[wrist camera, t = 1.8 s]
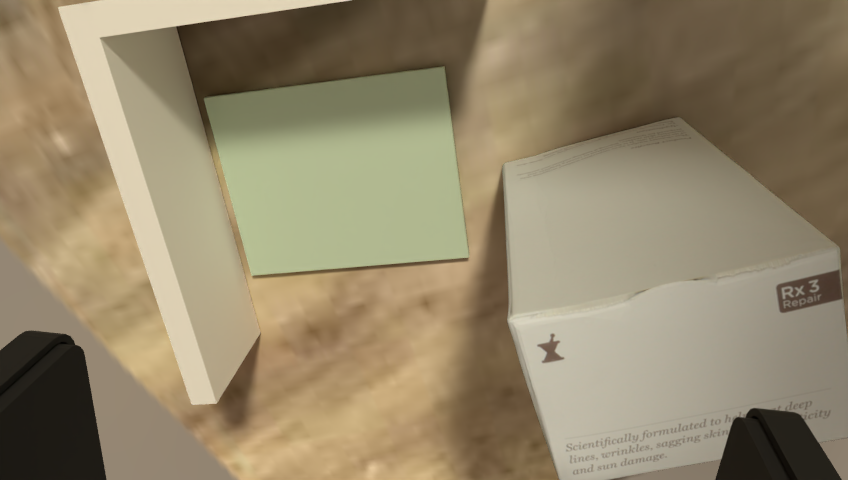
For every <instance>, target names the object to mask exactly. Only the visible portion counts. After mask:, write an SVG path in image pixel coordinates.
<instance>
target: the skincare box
mask: <svg viewBox="0 0 848 480" xmlns="http://www.w3.org/2000/svg"><path fill="white" fill-rule="evenodd" d="M502 174H503V189H504V207H505V230H506V252H507V272H508V296H509V307H508V317H507V323H508V326H509V329H510V332H511V335H512V338H513V341H514V344H515V347H516V351H517V355H518V358H519V362H520V365H521V368H522V371H523V374H524V377H525V380H526V383H527V386H528V390H529V393H530V396H531V399H532V402H533V405H534V408H535V411H536V414H537V417H538V420H539V422H540V425H541V428H542V431H543V434H544V437H545V440H546V443H547V446H548V449H549V452H550V455H551V458H552V461H553V464H554V467H555V470H556V472H557V475H558V478H559V480H610V479H615V478H621V477H626V476H632V475H637V474H643V473H648V472H654V471H659V470H665V469H670V468H676V467H682V466H688V465H694V464H699V463H705V462H710V461H717V460H721V459H722V455H723V452H724V449H725V445H726V442H727V438H728V435H729V431H730V428H731V425H732V422H733V420H734V419H735V418H737V417H744V418H745V417H746V414H747V413H748V411H749V410H750V409H752V408H761V409H770V410H779V411H789V412H795V413H798V414H800V415H801V417H802V418H803V419H804V420H805V422H806V424H807V425H808V427H809V428H810V430H811V432H812V433H813V435H814V436H815V438H816V440H817V441H818V443H821V442H827V441H833V440H839V439H844V438H848V338H847V329H846V320H845V309H844V297H843V285H842V272H841V258H840V248H839V247H838V245H836V244H835V243H834V242H833V241H831V240H830V239H829V238H828V237H826V236H825V235H824V234H823V233H821V232H820V231H819V230H818V229H816V228H815V227H814V226H813V225H811V224H810V223H809V222H808V221H807V220H805V219H804V218H803V217H802V216H800V215H799V214H798V213H797V212H795V211H794V210H793V209H792V208H790V207H789V206H788V205H787V204H785V203H784V202H783V201H782V200H780V199H779V198H778V197H777V196H775V195H774V194H773V193H772V192H770V191H769V190H768V189H767V188H766V187H764V186H763V185H762V184H761V183H760V182H759V181H757V180H756V179H755V178H754V177H753V176H751V175H750V174H749V173H748V172H747V171H745V170H744V169H743V168H742V167H740V166H739V165H738V164H737V163H735V162H734V161H733V160H732V159H730V158H729V157H728V156H727V155H725V154H724V153H723V152H722V151H721V150H719V149H718V148H717V147H716V146H715V145H713V144H712V143H711V142H710V141H708V140H707V139H706V138H705V137H703V136H702V135H701V134H700V133H699V132H697V131H696V130H695V129H694V128H692V127H691V126H690V125H689V124H687V123H686V122H685V121H684V120H683V119H682V118H681V117H676V118H672V119H667V120H663V121H659V122H655V123H651V124H648V125H644V126H640V127H637V128H633V129H629V130H625V131H621V132H617V133H613V134H609V135H605V136H601V137H598V138H594V139H590V140H587V141H583V142H579V143H575V144H572V145H568V146H564V147H560V148H557V149H554V150H551V151H548V152H544V153H541V154H538V155H535V156H532V157H528V158H524V159H519V160H515V161H510V162H506V163H504V164H503V168H502Z"/></svg>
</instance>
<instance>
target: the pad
mask: <svg viewBox="0 0 848 480" xmlns="http://www.w3.org/2000/svg"><path fill="white" fill-rule="evenodd" d="M204 102H205V106H206V109H207V113H208V117H209V120H210V124H211V128H212V132H213V135H214V139H215V143H216V146H217V150H218V154H219V157H220V161H221V165H222V168H223V172H224V176H225V179H226V183H227V187H228V191H229V194H230V198H231V202H232V205H233V209H234V213H235V216H236V220H237V224H238V227H239V231H240V235H241V238H242V242H243V246H244V249H245V253H246V257H247V261H248V264H249V268H250V272H251V275H252V276H253V275H265V274H277V273H289V272H301V271H313V270H325V269H337V268H349V267H361V266H373V265H385V264H397V263H409V262H421V261H433V260H445V259H457V258H469V248H468V241H467V233H466V225H465V218H464V210H463V202H462V195H461V187H460V179H459V172H458V164H457V157H456V149H455V141H454V134H453V126H452V118H451V111H450V103H449V95H448V88H447V80H446V72H445V66H441V67H433V68H426V69H418V70H410V71H402V72H395V73H387V74H379V75H371V76H364V77H356V78H348V79H341V80H333V81H325V82H317V83H310V84H302V85H294V86H286V87H279V88H271V89H263V90H255V91H248V92H240V93H232V94H224V95H217V96H209V97H205V98H204Z"/></svg>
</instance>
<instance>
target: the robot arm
mask: <svg viewBox="0 0 848 480" xmlns="http://www.w3.org/2000/svg"><path fill="white" fill-rule="evenodd" d="M0 480H106V475H105V469H104V464H103V457H102V452H101V446H100V440H99V434H98V429H97V423H96V417H95V411H94V406H93V400H92V394H91V388H90V384H89V377H88V371H87V366H86V360H85V355H84V351H83V349H81V347H80V346H77V345H75V343H74V340H73V339H72V338H71V337H70V336H68V335H66V334H58V333H49V332H40V331H25V332H24V333H22V334H20V335H19V336H17V337H16V338H15V339H14V340H13V341H11V342H10V343H9V344H8V345H6V346H5V347H4V348H3V349H1V350H0ZM716 480H841V478H840V476H839V475H838V473H837V472H836V470H835V468H834V467H833V465H832V463H831V462H830V460H829V459H828V457H827V456H826V454H825V452H824V451H823V449H822V448H821V446H820V444H819V443H818V441H817V440H816V438H815V436H814V435H813V433H812V432H811V430H810V428H809V427H808V425H807V424H806V422H805V420H804V419H803V418H802V417H801V415H800V414H798V413H795V412H789V411H779V410H770V409H761V408H752V409H750V410H749V411H748V413H747V414H746V417H745V418H744V417H737V418H735V419H734V420H733V422H732V425H731V428H730V431H729V435H728V438H727V442H726V445H725V449H724V452H723V455H722V459H721V463H720V466H719V469H718V473H717V476H716Z"/></svg>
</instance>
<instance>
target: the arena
mask: <svg viewBox="0 0 848 480" xmlns="http://www.w3.org/2000/svg"><path fill="white" fill-rule="evenodd" d="M343 1H350V0H100V1H94V2H87V3H81V4H75V5H69V6H63V7H58V9H59V12H60V15H61V18H62V21H63V24H64V27H65V30H66V33H67V36H68V39H69V42H70V45H71V48H72V51H73V54H74V57H75V60H76V63H77V66H78V69H79V72H80V75H81V78H82V81H83V84H84V87H85V89H86V92H87V95H88V98H89V101H90V104H91V107H92V110H93V113H94V116H95V119H96V122H97V125H98V128H99V131H100V134H101V137H102V140H103V143H104V146H105V149H106V152H107V155H108V158H109V161H110V164H111V167H112V170H113V173H114V176H115V178H116V181H117V184H118V187H119V190H120V193H121V196H122V199H123V202H124V205H125V208H126V211H127V214H128V217H129V220H130V223H131V226H132V229H133V232H134V235H135V238H136V241H137V244H138V247H139V250H140V253H141V256H142V259H143V262H144V265H145V267H146V270H147V273H148V276H149V279H150V282H151V285H152V288H153V291H154V294H155V297H156V300H157V303H158V306H159V309H160V312H161V315H162V318H163V321H164V324H165V327H166V330H167V333H168V336H169V339H170V342H171V345H172V348H173V351H174V354H175V356H176V359H177V362H178V365H179V368H180V371H181V374H182V377H183V380H184V383H185V386H186V389H187V392H188V395H189V398H190V401H191V404H192V405H198V404H217V402H218V401H219V399H220V397H221V396H222V394H223V393H224V391H225V389H226V388H227V386H228V384H229V383H230V381H231V380H232V378H233V376H234V375H235V373H236V372H237V370H238V368H239V367H240V365H241V364H242V362H243V360H244V359H245V357H246V356H247V354H248V352H249V351H250V349H251V348H252V346H253V344H254V343H255V341H256V339H257V338H258V336H259V335H260V333H261V332H260V329H259V325H258V322H257V318H256V314H255V311H254V307H253V303H252V300H251V296H250V293H249V289H248V285H247V282H246V278H245V274H244V271H243V267H242V264H241V260H240V256H239V253H238V249H237V245H236V242H235V238H234V234H233V231H232V227H231V224H230V220H229V216H228V213H227V209H226V205H225V202H224V198H223V195H222V191H221V187H220V184H219V180H218V176H217V173H216V169H215V166H214V162H213V158H212V155H211V151H210V147H209V144H208V140H207V137H206V133H205V129H204V126H203V122H202V118H201V115H200V111H199V107H198V104H197V100H196V97H195V93H194V89H193V86H192V82H191V78H190V75H189V71H188V68H187V64H186V60H185V57H184V53H183V49H182V46H181V42H180V39H179V35H178V31H177V28H176V26H181V25H188V24H194V23H201V22H208V21H215V20H221V19H228V18H235V17H242V16H248V15H255V14H262V13H269V12H275V11H282V10H289V9H296V8H302V7H309V6H316V5H323V4H329V3H336V2H343Z"/></svg>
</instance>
